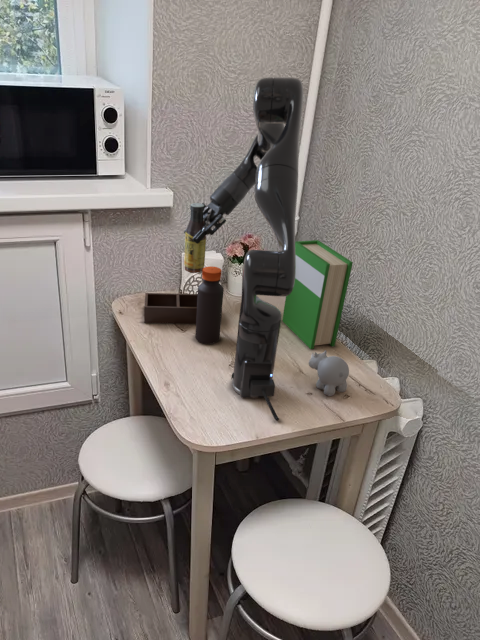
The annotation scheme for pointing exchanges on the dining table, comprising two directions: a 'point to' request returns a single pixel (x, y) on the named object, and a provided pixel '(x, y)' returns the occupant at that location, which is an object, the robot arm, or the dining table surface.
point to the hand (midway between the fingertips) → (190, 238)
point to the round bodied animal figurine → (330, 372)
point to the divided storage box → (170, 308)
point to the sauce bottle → (194, 251)
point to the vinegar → (209, 306)
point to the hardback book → (317, 293)
